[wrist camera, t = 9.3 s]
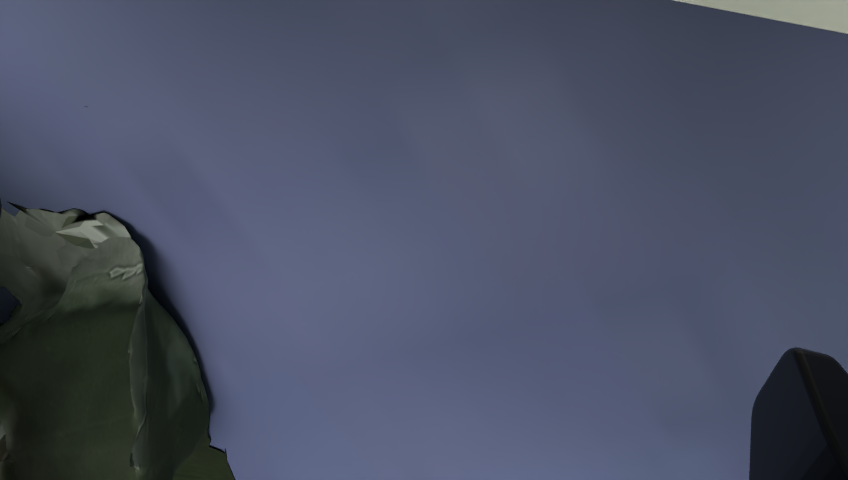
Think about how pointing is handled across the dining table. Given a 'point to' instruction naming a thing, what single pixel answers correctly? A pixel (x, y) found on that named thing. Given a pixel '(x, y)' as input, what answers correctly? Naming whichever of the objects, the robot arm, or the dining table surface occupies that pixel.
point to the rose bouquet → (94, 360)
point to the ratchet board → (789, 11)
